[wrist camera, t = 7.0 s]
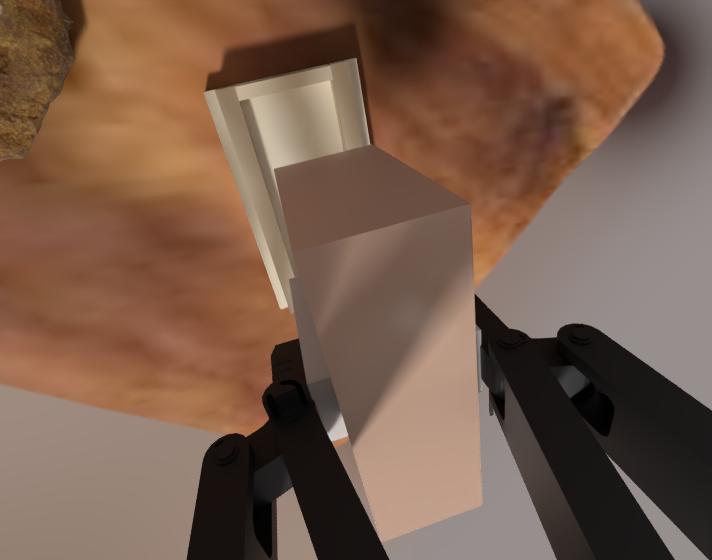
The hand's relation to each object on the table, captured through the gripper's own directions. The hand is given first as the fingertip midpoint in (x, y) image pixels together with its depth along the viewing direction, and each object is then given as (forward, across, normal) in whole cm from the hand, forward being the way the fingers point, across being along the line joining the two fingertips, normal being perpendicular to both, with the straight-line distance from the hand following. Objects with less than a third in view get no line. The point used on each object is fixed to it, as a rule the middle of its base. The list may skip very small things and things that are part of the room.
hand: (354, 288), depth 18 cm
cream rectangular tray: (+14, 0, 0) cm, 14 cm away
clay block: (0, 0, 0) cm, 0 cm away
